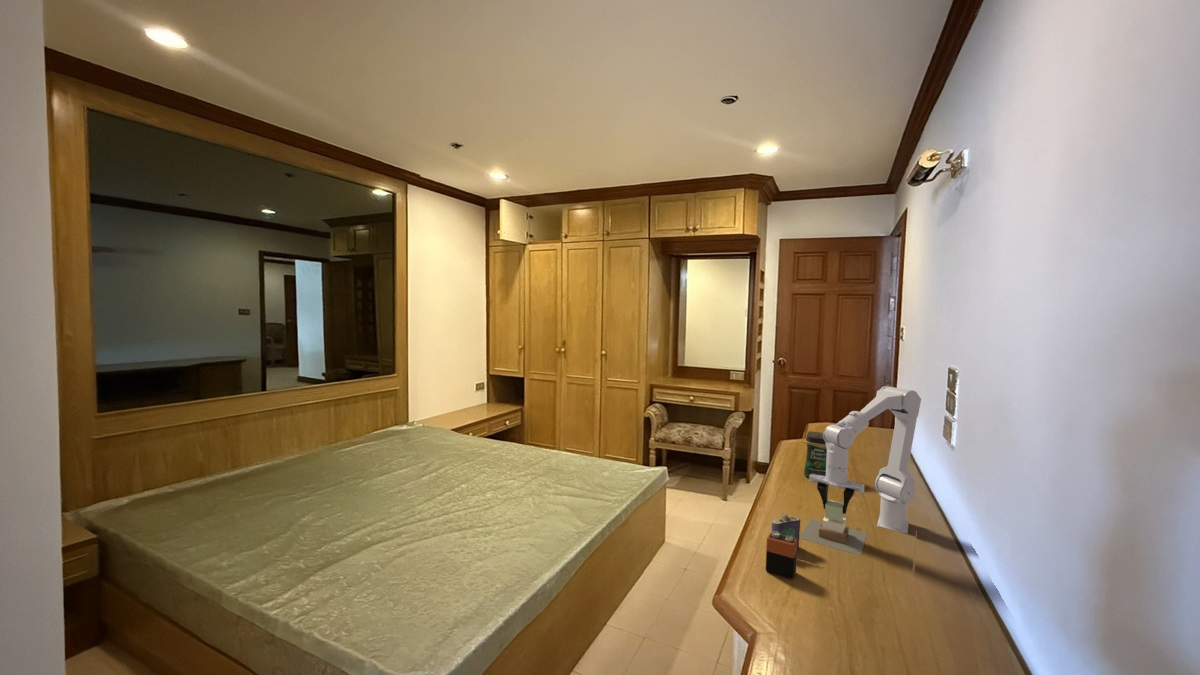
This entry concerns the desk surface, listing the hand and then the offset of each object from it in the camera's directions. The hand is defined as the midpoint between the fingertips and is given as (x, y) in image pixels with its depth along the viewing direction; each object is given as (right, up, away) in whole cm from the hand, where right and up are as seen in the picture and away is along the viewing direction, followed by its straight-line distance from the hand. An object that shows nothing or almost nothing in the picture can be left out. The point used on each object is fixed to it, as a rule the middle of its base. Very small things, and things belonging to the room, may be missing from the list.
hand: (834, 510), depth 140 cm
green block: (0, -2, 0) cm, 2 cm away
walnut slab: (0, -8, 0) cm, 8 cm away
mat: (0, -8, 0) cm, 8 cm away
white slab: (0, -5, 0) cm, 5 cm away
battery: (-23, -9, -19) cm, 31 cm away
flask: (-18, -9, -8) cm, 21 cm away
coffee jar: (+18, -5, +50) cm, 54 cm away
